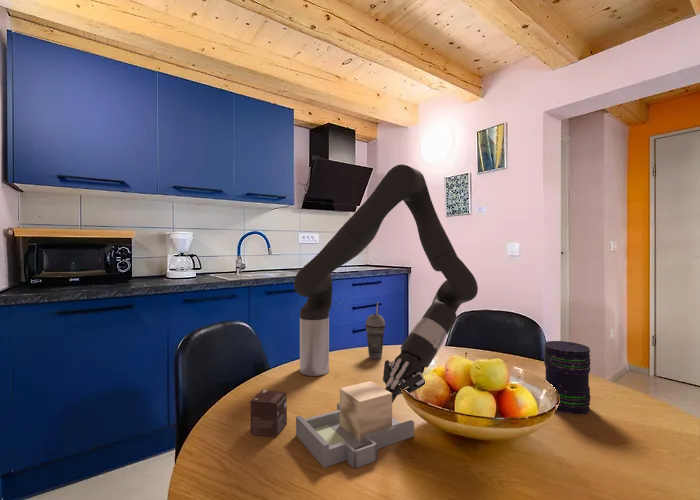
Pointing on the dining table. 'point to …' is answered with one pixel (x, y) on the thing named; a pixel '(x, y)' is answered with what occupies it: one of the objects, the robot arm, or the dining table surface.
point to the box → (268, 413)
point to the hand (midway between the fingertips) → (382, 405)
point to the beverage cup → (375, 335)
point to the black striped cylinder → (569, 375)
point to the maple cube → (365, 409)
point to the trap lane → (346, 439)
